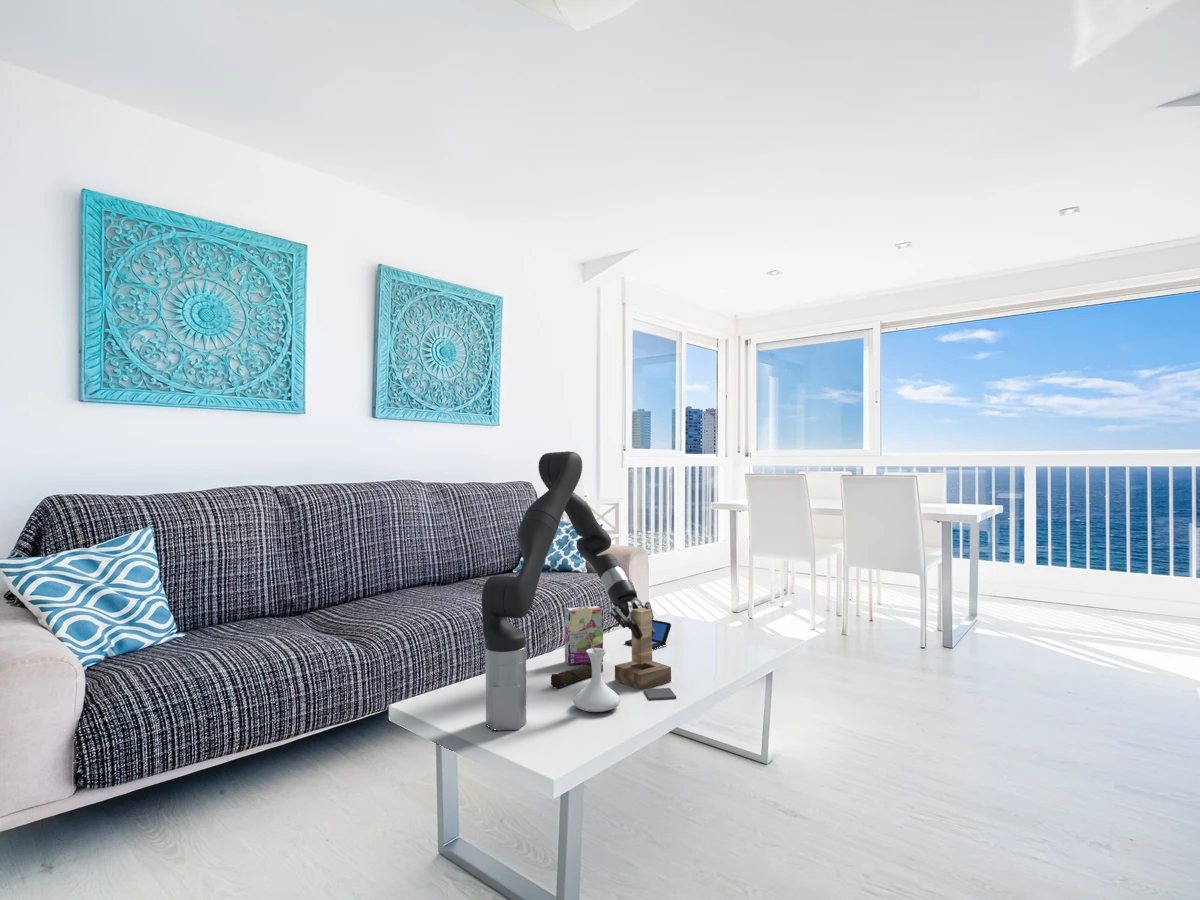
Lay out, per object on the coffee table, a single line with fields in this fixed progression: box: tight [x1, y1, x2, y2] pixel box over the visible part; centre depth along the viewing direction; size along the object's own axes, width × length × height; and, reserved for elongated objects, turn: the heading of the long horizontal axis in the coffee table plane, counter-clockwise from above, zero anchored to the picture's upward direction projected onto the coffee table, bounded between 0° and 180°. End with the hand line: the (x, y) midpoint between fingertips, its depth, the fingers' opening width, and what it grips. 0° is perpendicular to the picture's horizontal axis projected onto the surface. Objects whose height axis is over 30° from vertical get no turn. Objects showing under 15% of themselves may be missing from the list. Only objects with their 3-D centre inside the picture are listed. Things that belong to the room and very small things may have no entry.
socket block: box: [614, 660, 672, 691], centre depth 175 cm, size 11×11×4 cm
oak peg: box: [631, 608, 653, 664], centre depth 175 cm, size 4×4×14 cm
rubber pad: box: [643, 687, 677, 701], centre depth 163 cm, size 7×7×1 cm
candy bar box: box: [564, 605, 604, 666], centre depth 194 cm, size 11×5×16 cm, turn 108°
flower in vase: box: [567, 605, 621, 713], centre depth 154 cm, size 13×11×25 cm
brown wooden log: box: [550, 660, 604, 689], centre depth 176 cm, size 19×4×5 cm, turn 135°
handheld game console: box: [624, 619, 672, 650], centre depth 214 cm, size 12×11×7 cm
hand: (646, 636), depth 174 cm, fingers closed on oak peg, 4 cm apart
